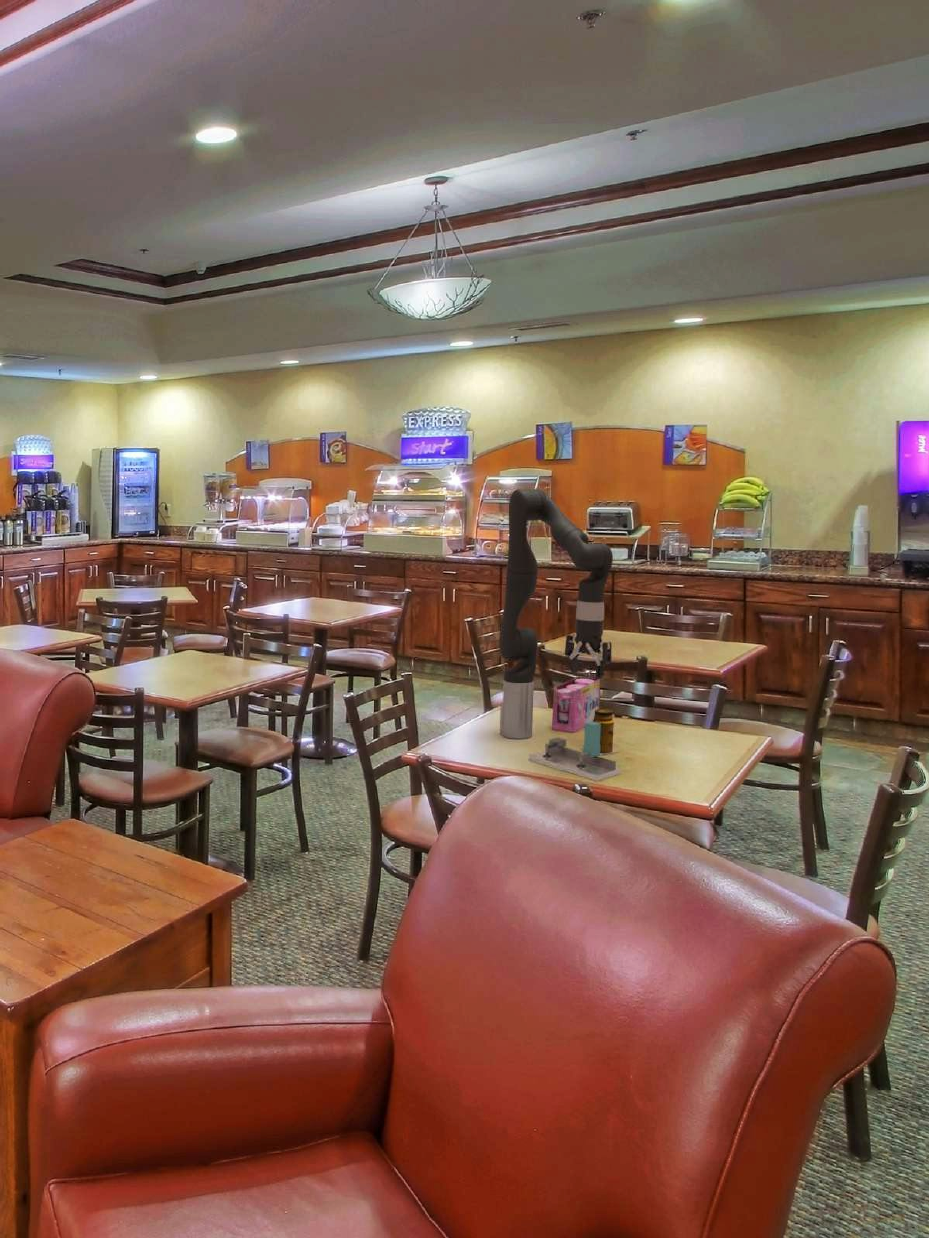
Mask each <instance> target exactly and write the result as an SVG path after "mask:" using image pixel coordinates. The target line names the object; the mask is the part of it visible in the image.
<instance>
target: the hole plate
mask: <svg viewBox="0 0 929 1238" xmlns="http://www.w3.org/2000/svg"><path fill="white" fill-rule="evenodd" d="M566 746H567V739H565V738H562V737H558V736H557V737H555V738H550V739H549V743H545V747H544V748H545V750H543V751H540V752H536V753H531V754H529V755H528V761H530V762H534V763H536V764H540V765H542V766H546V767H550V768H553V769H556V770H558V771H559V770H560V771H562V770H565V771H567V772H566V773H569V772H570V773H569V774H572V773H574V774H573V775H575V774H577V775H576V776H578V777H579V776H580V777H582V778H585V777H586V779H588V780H589V779H590V780H592V781H596V782H600V781H602V780H606V779H609V778H611V777H614V776H617V775H621V773H622V768H621V767H619V766H617V761H616V760H611V759H608V758H604V757H600V756H595V757H586V758H583V762H582V765H579V761H580V758H579V754H581V753H583V751H579V750H575V749H571V748H568V747H566ZM565 771H564V772H565Z"/></svg>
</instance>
